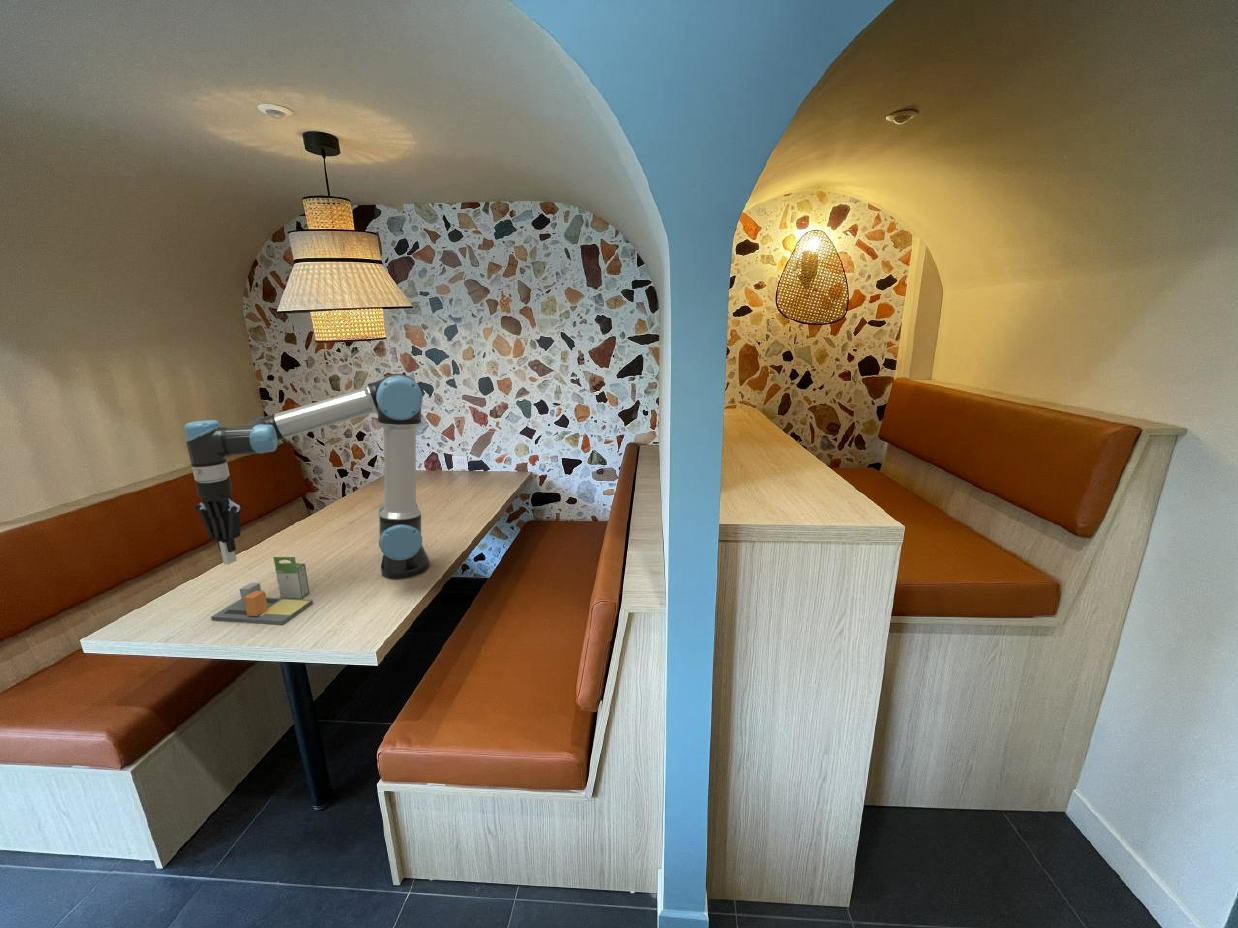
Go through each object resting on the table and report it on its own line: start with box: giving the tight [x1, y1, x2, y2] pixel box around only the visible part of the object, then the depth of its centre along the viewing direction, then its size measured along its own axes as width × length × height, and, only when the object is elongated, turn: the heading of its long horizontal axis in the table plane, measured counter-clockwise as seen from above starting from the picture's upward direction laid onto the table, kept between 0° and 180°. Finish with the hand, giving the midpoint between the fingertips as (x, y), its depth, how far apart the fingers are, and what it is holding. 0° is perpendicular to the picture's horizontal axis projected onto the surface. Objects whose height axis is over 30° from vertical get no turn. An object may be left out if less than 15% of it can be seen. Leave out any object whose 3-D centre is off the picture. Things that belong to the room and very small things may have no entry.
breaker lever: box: [244, 590, 268, 616], centre depth 150 cm, size 4×3×6 cm
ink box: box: [272, 556, 310, 599], centre depth 162 cm, size 7×4×13 cm, turn 84°
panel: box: [210, 582, 314, 626], centre depth 154 cm, size 12×22×6 cm, turn 81°
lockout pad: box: [261, 599, 310, 616], centre depth 154 cm, size 8×9×1 cm
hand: (230, 562), depth 149 cm, fingers closed
